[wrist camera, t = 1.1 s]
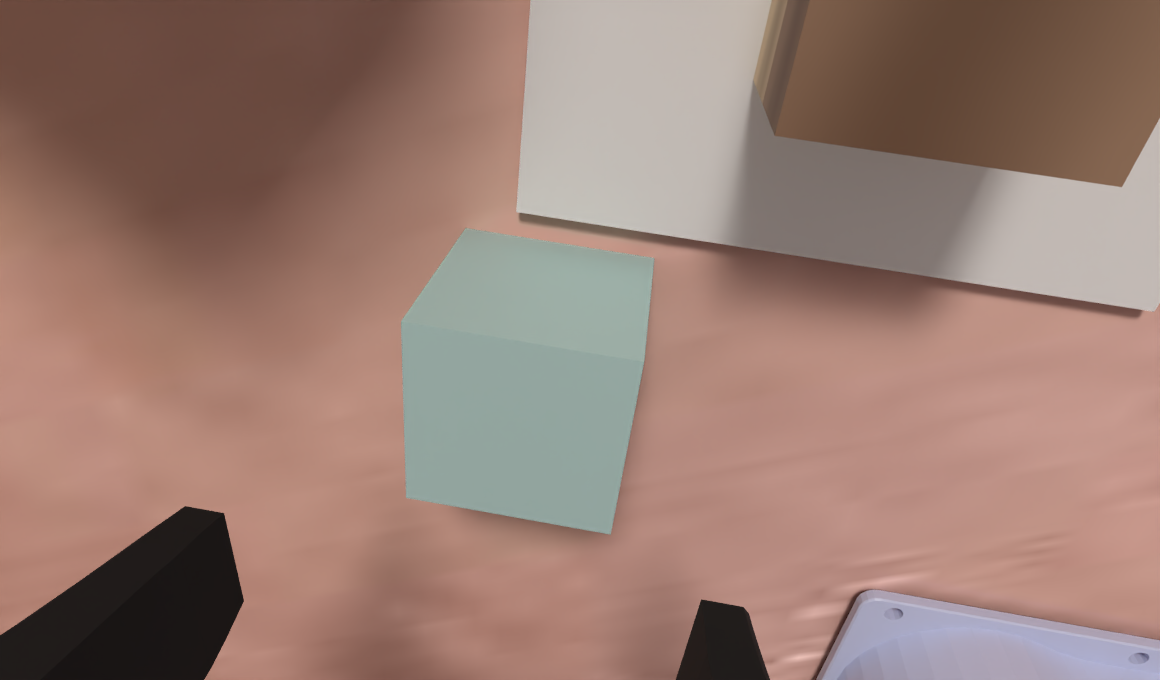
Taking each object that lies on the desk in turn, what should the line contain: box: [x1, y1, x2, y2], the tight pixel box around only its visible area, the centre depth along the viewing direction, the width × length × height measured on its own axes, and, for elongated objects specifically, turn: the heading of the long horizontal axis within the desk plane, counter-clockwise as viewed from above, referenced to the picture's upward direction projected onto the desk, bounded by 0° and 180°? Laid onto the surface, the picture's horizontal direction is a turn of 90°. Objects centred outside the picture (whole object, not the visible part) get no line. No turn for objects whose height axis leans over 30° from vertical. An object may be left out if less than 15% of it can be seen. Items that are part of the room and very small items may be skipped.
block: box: [401, 228, 654, 535], centre depth 16 cm, size 4×4×4 cm
